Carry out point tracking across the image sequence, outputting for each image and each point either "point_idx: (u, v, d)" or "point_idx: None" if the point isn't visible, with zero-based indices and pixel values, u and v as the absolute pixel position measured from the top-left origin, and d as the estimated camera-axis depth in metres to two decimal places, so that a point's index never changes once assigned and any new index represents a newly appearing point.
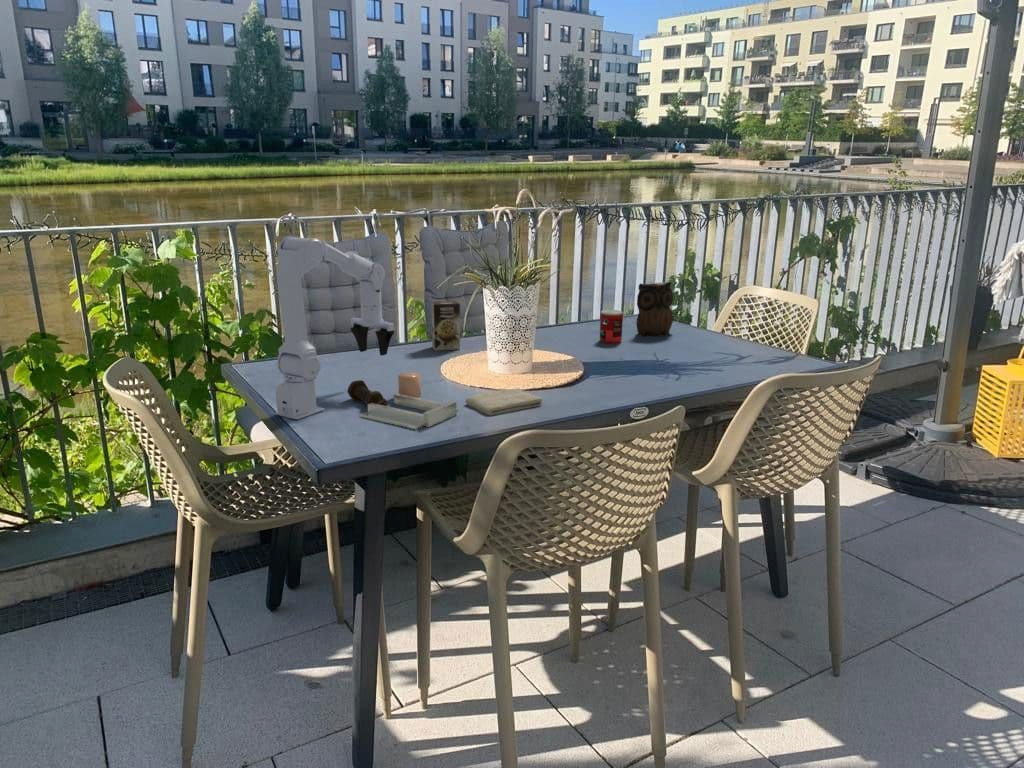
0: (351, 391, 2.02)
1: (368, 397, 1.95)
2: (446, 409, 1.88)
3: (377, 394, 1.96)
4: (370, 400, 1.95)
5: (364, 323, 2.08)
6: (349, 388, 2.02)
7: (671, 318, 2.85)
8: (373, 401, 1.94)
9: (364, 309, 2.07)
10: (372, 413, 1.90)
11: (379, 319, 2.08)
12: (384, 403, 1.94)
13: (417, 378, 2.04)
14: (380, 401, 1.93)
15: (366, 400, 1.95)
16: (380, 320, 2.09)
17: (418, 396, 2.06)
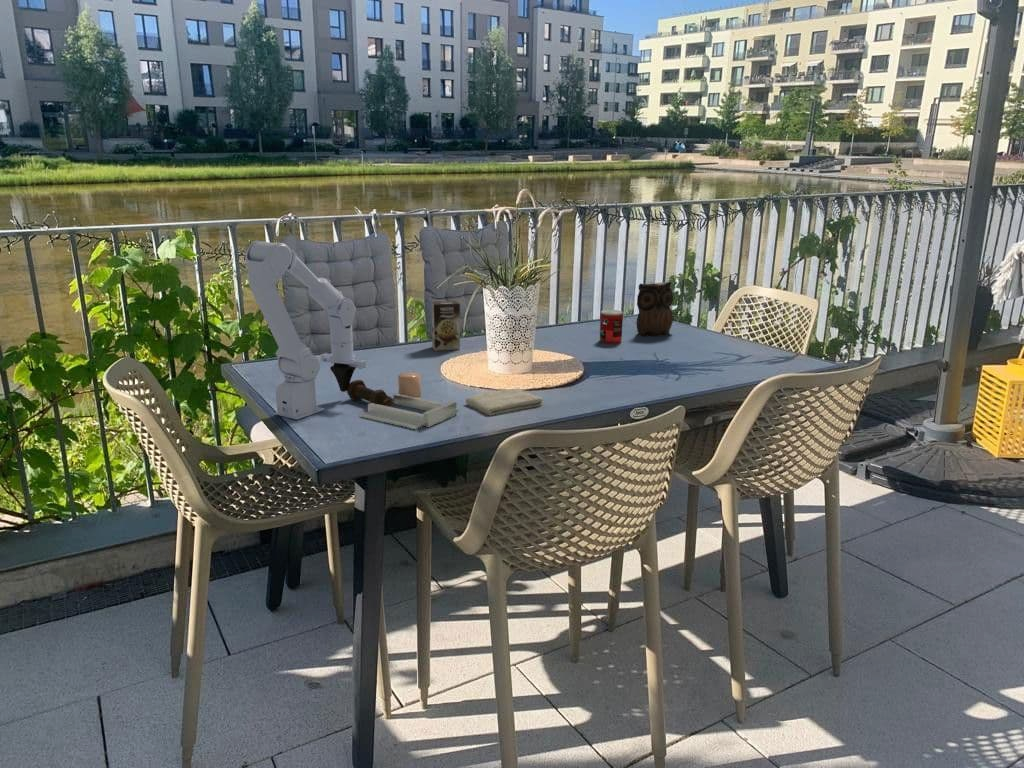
0: (351, 391, 2.02)
1: (373, 395, 1.96)
2: (446, 409, 1.88)
3: (381, 392, 1.97)
4: (375, 399, 1.96)
5: (334, 360, 1.98)
6: (349, 388, 2.02)
7: (671, 318, 2.85)
8: (378, 399, 1.95)
9: (334, 346, 1.97)
10: (372, 413, 1.90)
11: (350, 356, 1.99)
12: (390, 401, 1.95)
13: (417, 378, 2.04)
14: (386, 399, 1.94)
15: (371, 399, 1.96)
16: (351, 357, 1.99)
17: (418, 396, 2.06)
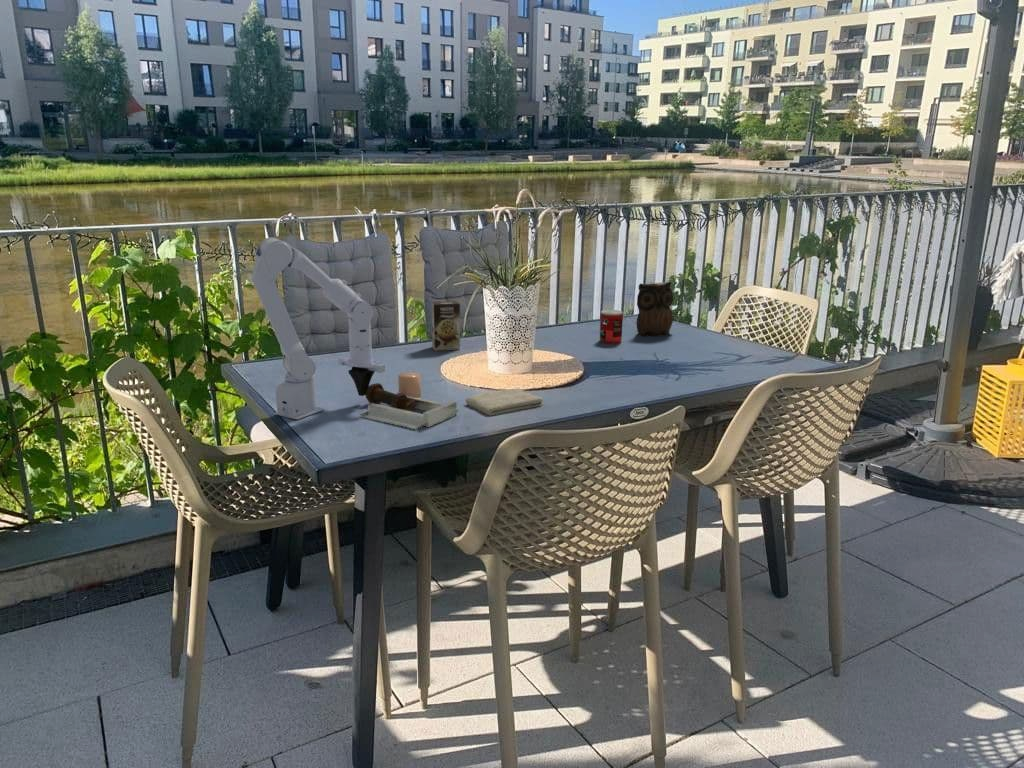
0: (370, 395, 1.98)
1: (395, 399, 1.93)
2: (446, 409, 1.88)
3: (403, 396, 1.94)
4: (397, 402, 1.92)
5: (353, 364, 1.95)
6: (367, 392, 1.98)
7: (671, 318, 2.85)
8: (400, 403, 1.92)
9: (353, 349, 1.94)
10: (372, 413, 1.90)
11: (369, 360, 1.96)
12: (412, 404, 1.92)
13: (417, 378, 2.04)
14: (409, 402, 1.91)
15: (392, 402, 1.93)
16: (370, 361, 1.96)
17: (418, 396, 2.06)
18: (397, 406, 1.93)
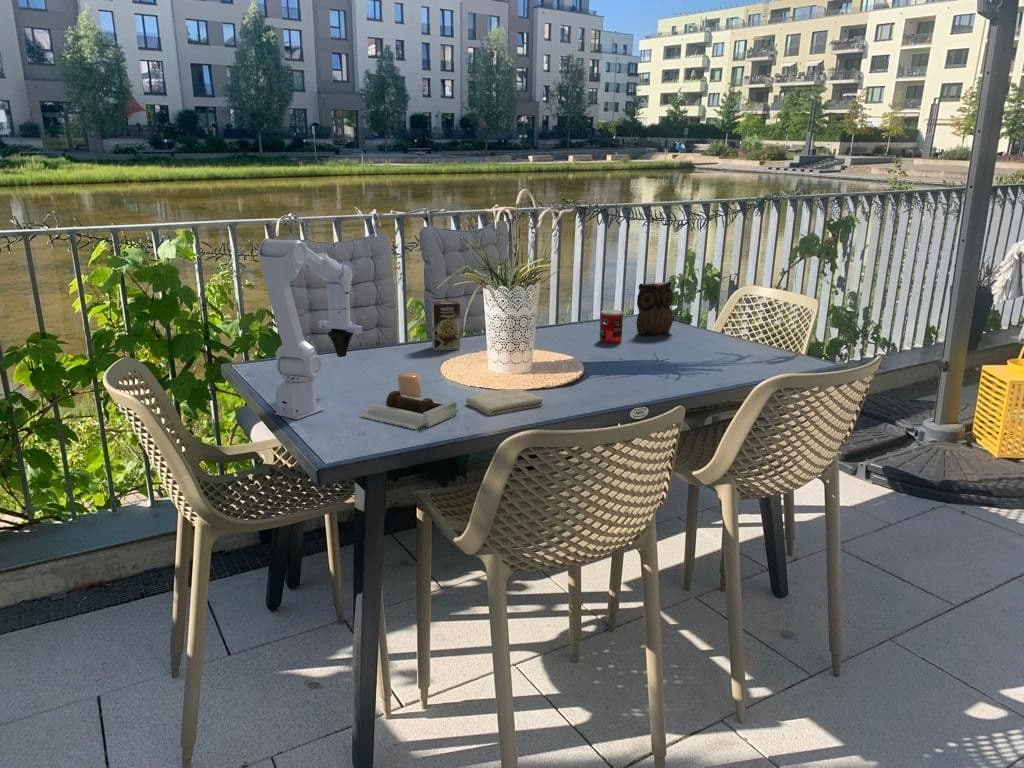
0: (391, 403, 1.92)
1: (424, 405, 1.89)
2: (446, 409, 1.88)
3: (430, 401, 1.90)
4: (426, 408, 1.89)
5: (332, 326, 2.04)
6: (388, 400, 1.92)
7: (671, 318, 2.85)
8: (430, 408, 1.89)
9: (331, 312, 2.03)
10: (372, 413, 1.90)
11: (347, 322, 2.05)
12: None
13: (417, 378, 2.04)
14: None
15: (421, 409, 1.89)
16: (348, 323, 2.05)
17: (418, 396, 2.06)
18: None
